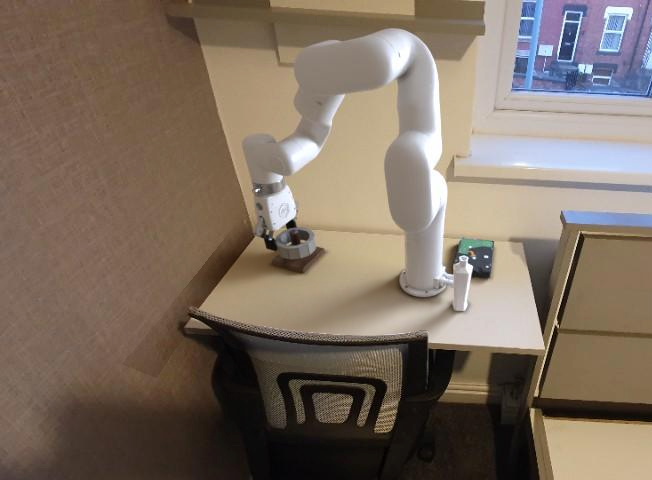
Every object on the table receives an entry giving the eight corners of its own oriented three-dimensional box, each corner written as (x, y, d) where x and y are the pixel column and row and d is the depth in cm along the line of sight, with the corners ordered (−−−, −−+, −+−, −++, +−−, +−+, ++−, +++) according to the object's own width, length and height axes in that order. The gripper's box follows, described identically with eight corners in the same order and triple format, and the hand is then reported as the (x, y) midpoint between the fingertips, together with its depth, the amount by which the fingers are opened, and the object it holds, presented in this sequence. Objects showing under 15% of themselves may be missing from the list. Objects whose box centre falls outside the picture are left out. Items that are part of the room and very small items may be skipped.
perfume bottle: (471, 311, 97) (476, 263, 89) (454, 313, 96) (457, 265, 88) (466, 298, 101) (470, 251, 92) (449, 300, 100) (452, 253, 91)
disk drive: (490, 279, 107) (493, 247, 119) (491, 271, 106) (494, 240, 118) (452, 274, 108) (459, 243, 120) (453, 267, 107) (460, 235, 119)
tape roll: (323, 242, 112) (321, 231, 110) (301, 262, 104) (299, 251, 102) (293, 234, 114) (291, 224, 112) (269, 254, 106) (266, 243, 104)
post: (325, 252, 114) (320, 226, 109) (303, 273, 106) (297, 246, 101) (295, 244, 116) (289, 218, 111) (272, 264, 109) (265, 237, 103)
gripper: (257, 203, 92) (272, 262, 102) (303, 173, 105) (313, 228, 115) (230, 196, 94) (249, 255, 104) (279, 168, 107) (291, 222, 117)
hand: (282, 240), depth 109 cm, fingers closed on tape roll, 8 cm apart
